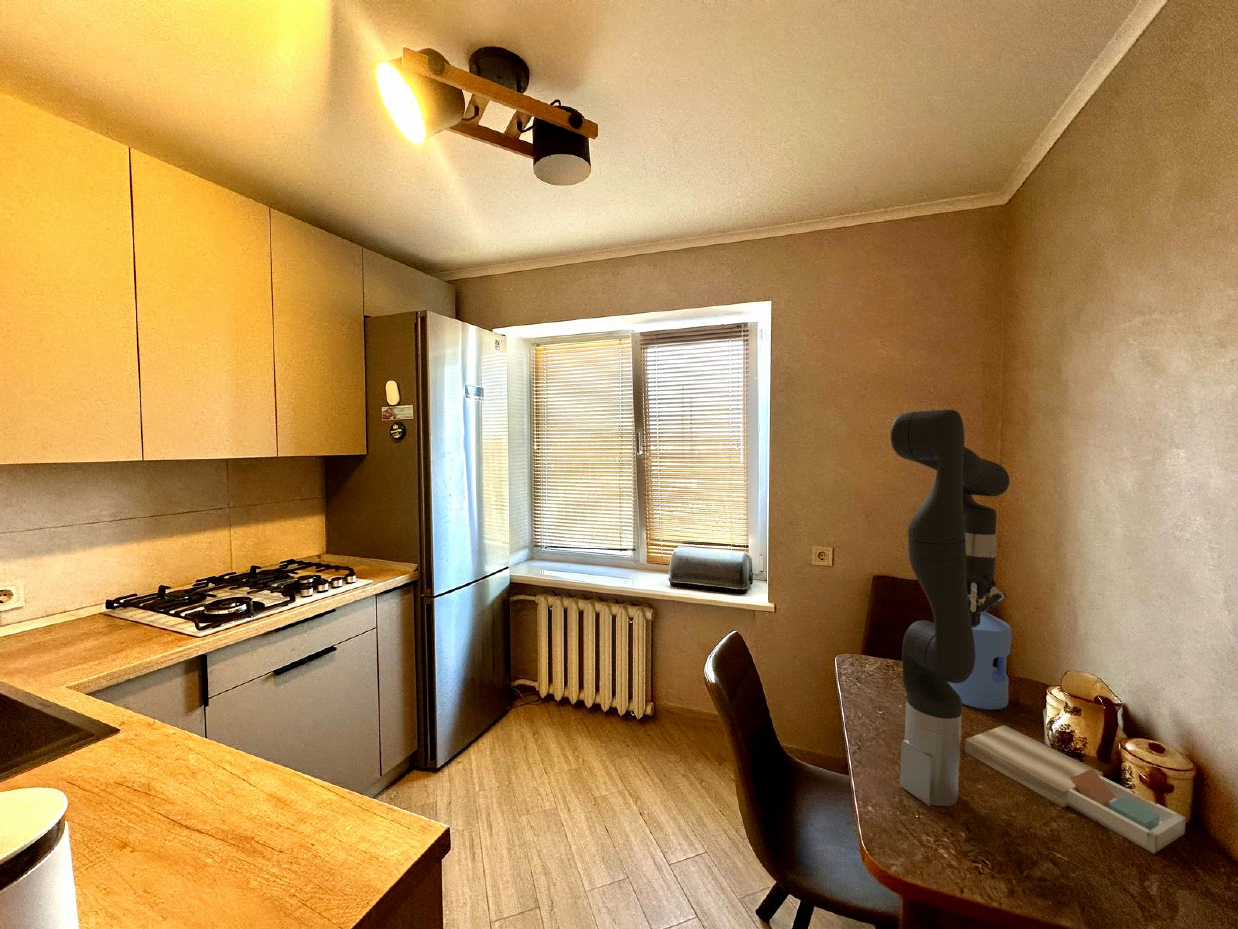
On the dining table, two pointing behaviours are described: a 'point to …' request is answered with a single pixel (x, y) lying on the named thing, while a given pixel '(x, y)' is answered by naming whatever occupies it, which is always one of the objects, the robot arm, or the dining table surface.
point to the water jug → (987, 666)
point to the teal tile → (1135, 813)
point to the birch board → (1027, 762)
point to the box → (1149, 839)
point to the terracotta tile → (1092, 786)
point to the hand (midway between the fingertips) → (971, 626)
